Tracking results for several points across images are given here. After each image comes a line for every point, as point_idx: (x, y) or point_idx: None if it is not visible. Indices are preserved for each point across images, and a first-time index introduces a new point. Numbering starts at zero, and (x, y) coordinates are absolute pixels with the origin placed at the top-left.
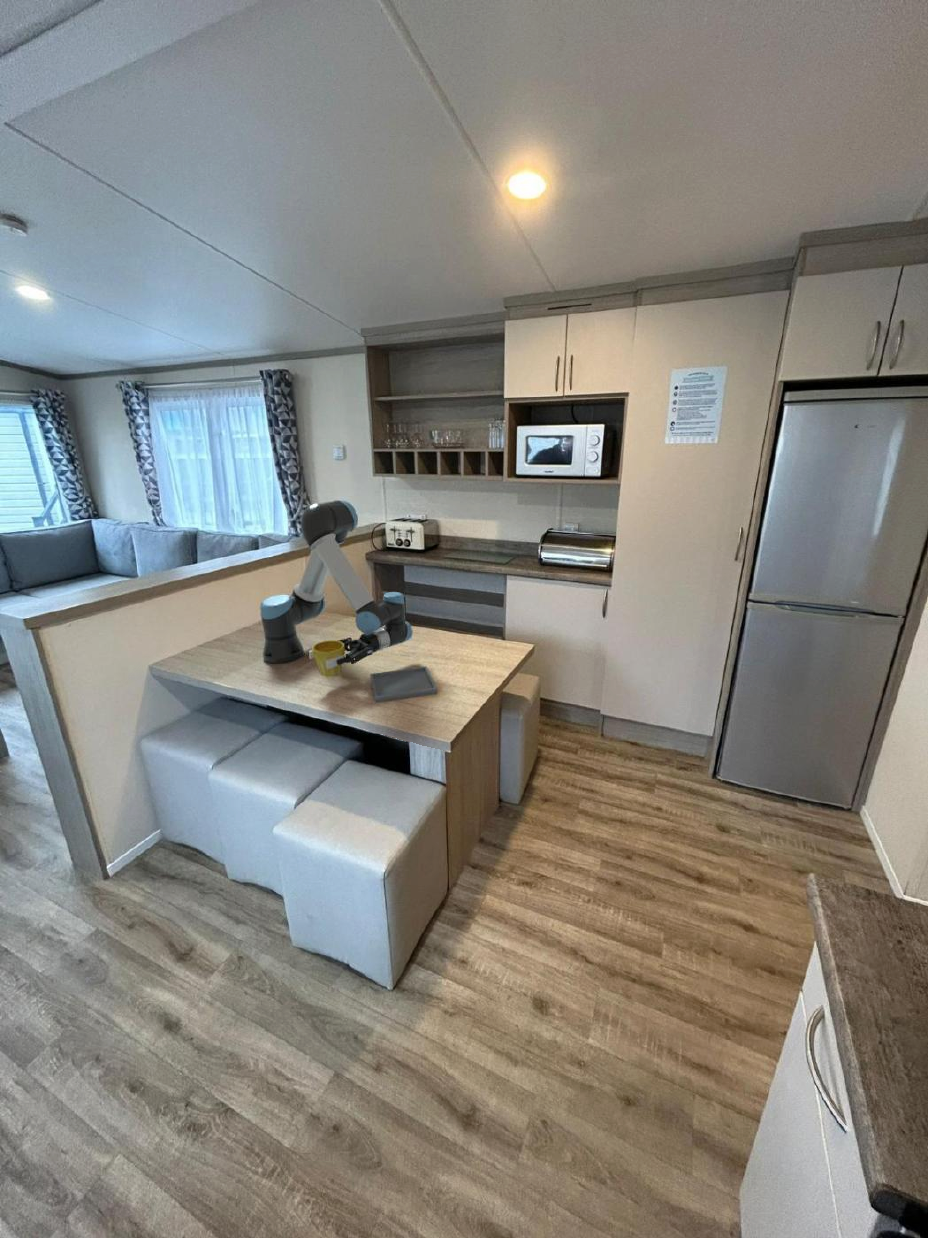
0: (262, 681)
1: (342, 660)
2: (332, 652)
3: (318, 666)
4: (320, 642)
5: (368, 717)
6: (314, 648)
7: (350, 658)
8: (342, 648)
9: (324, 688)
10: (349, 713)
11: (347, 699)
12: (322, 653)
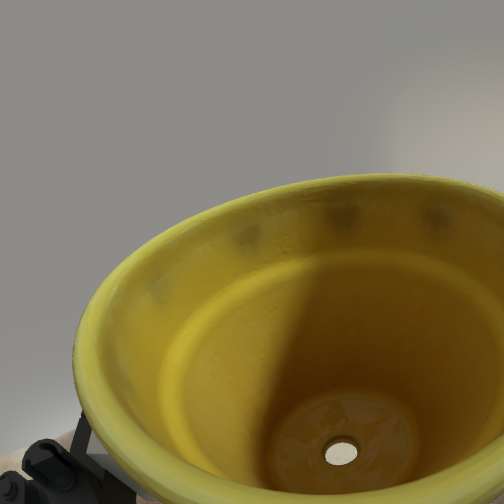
0: None
1: (86, 422)
2: (116, 277)
3: (329, 341)
4: (483, 191)
5: (10, 459)
6: (375, 197)
7: (32, 483)
8: (78, 395)
9: (341, 453)
10: (63, 444)
11: (143, 498)
12: (190, 230)
